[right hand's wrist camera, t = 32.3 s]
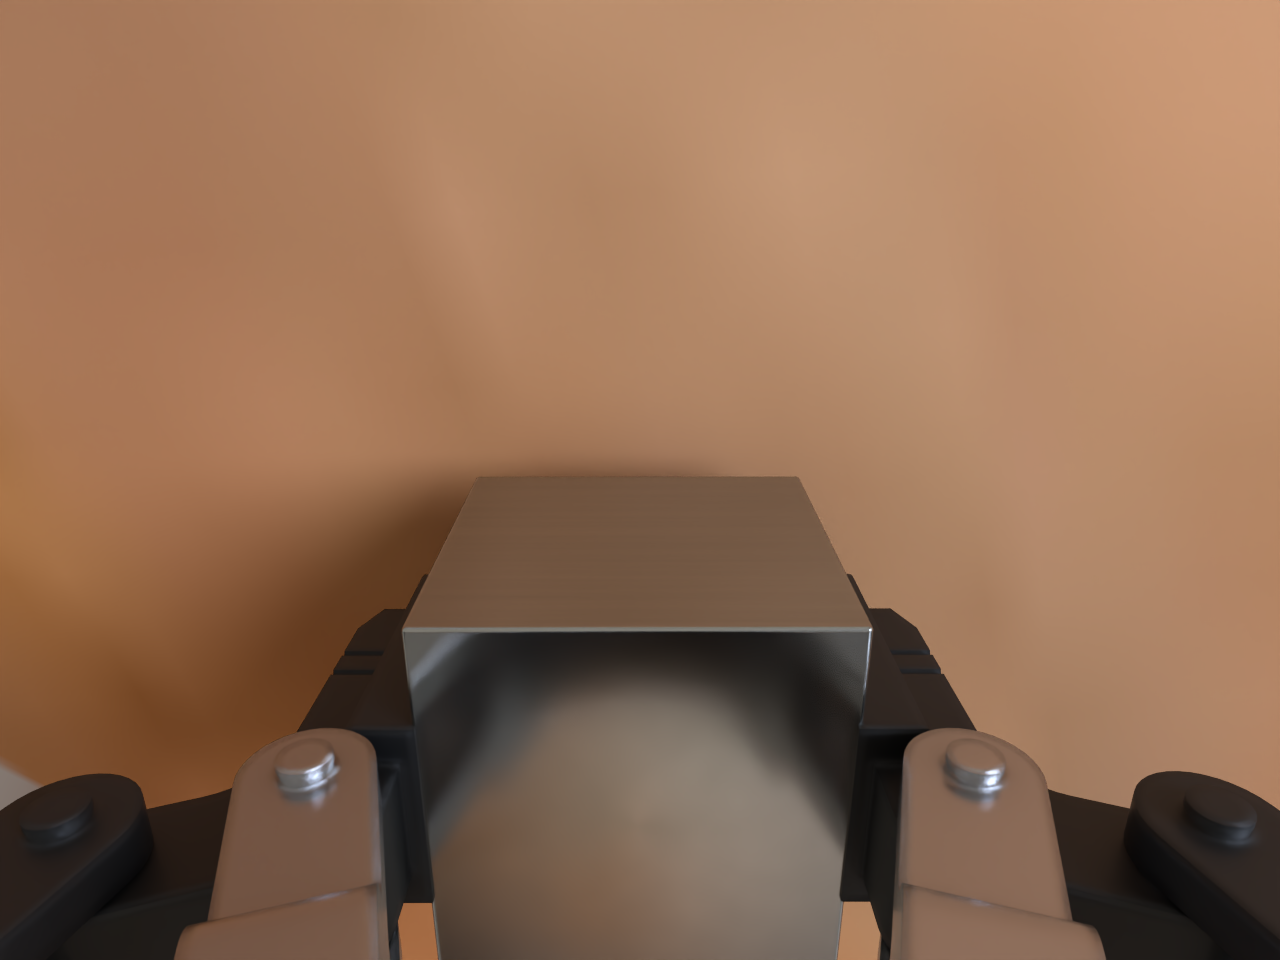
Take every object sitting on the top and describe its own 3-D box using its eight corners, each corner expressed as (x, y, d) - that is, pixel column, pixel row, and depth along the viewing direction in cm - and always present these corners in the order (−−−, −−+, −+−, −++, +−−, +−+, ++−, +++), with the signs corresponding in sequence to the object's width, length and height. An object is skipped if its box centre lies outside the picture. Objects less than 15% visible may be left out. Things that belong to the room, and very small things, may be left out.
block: (496, 754, 14) (440, 991, 10) (476, 475, 12) (399, 628, 8) (779, 754, 14) (835, 990, 10) (799, 474, 12) (875, 626, 8)
